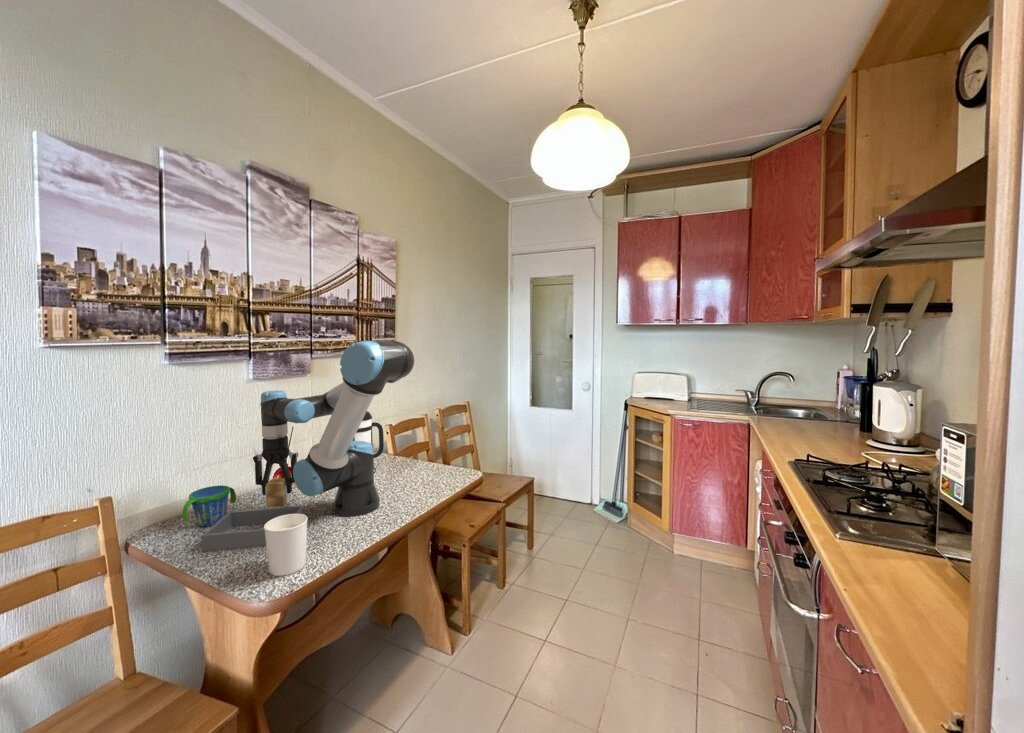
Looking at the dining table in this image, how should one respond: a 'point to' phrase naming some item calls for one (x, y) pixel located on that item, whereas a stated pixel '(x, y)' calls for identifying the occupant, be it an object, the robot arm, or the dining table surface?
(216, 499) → the snack cup
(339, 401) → the robot arm
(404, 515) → the dining table surface
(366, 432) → the coffee press
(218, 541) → the charcoal bin
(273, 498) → the ochre block
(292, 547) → the candle holder
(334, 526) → the dining table surface
